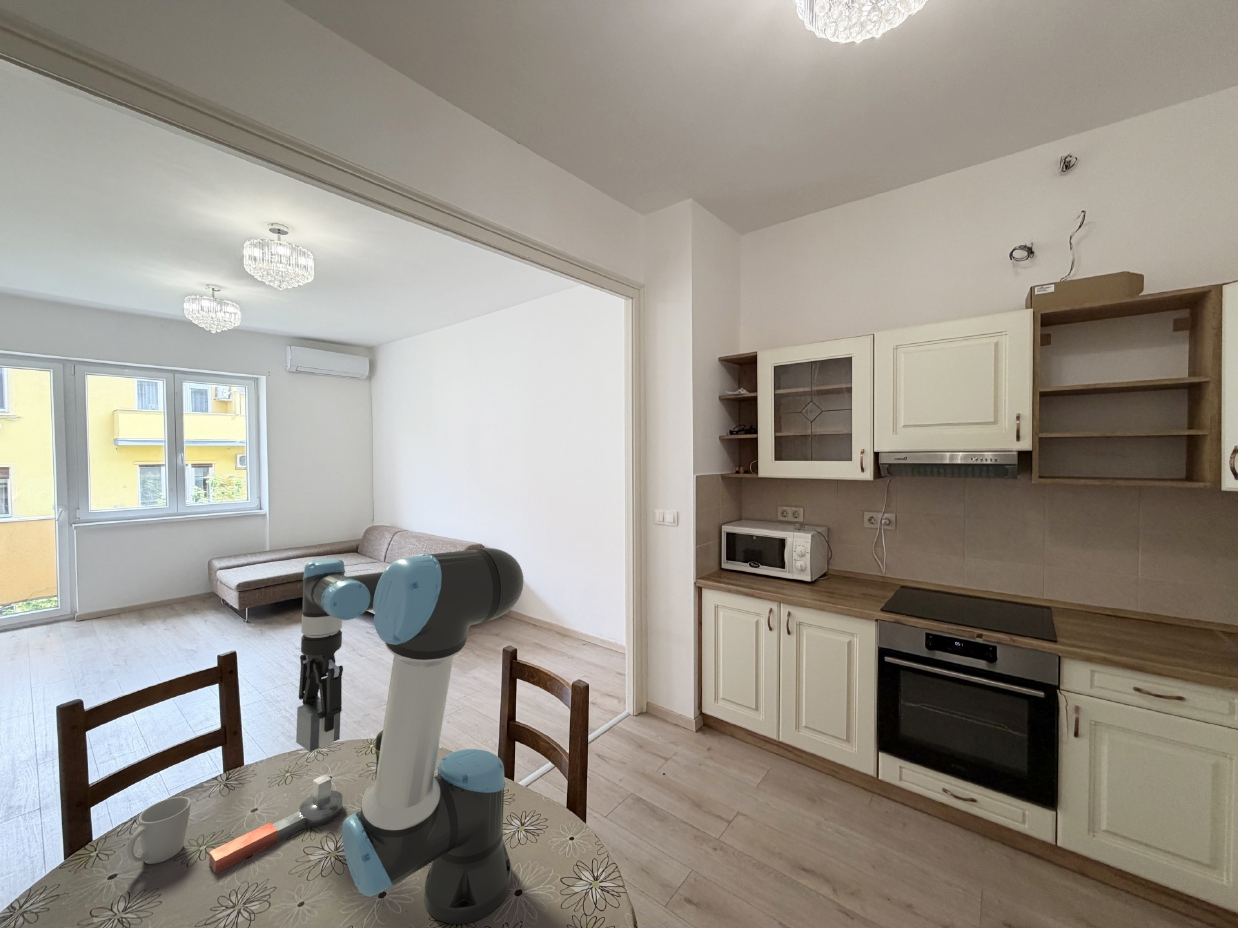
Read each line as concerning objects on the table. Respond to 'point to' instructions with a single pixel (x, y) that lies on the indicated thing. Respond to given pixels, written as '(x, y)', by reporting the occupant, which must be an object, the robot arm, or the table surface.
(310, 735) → the grey rectangular block
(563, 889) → the table surface
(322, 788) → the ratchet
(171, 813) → the cup
